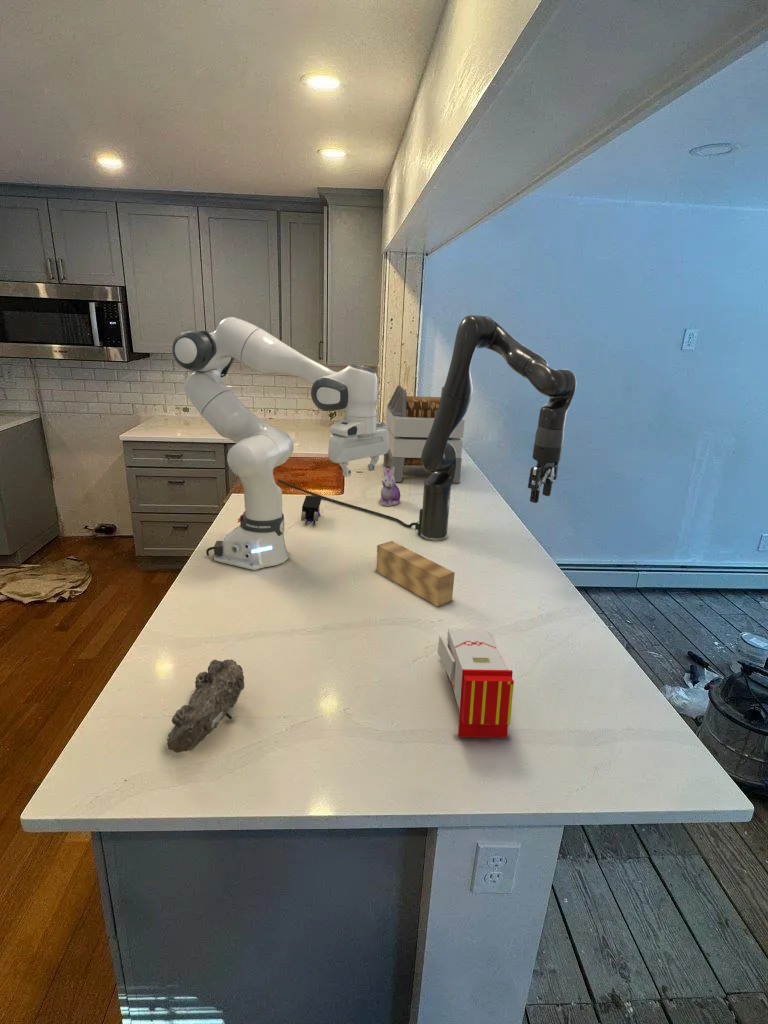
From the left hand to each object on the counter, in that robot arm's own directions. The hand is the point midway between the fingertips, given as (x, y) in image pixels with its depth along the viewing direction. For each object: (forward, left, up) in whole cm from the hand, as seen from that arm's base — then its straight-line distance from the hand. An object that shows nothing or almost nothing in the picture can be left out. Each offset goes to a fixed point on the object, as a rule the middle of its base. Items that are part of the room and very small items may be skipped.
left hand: (359, 473), depth 161 cm
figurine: (-2, +64, -30) cm, 71 cm away
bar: (+18, -6, -30) cm, 36 cm away
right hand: (+51, +8, -5) cm, 52 cm away
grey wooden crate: (+3, +112, -30) cm, 116 cm away
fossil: (-11, -71, -30) cm, 78 cm away
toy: (+37, -51, -30) cm, 70 cm away
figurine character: (-26, +35, -30) cm, 53 cm away
